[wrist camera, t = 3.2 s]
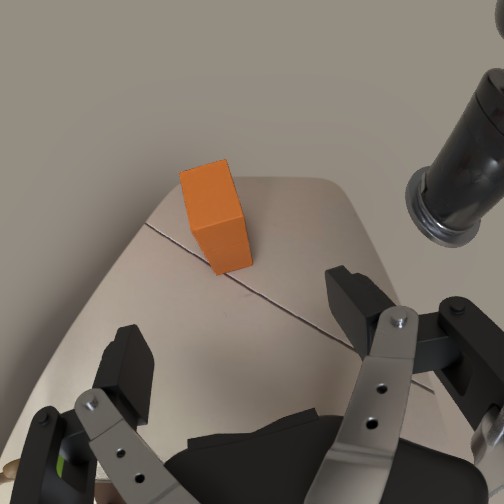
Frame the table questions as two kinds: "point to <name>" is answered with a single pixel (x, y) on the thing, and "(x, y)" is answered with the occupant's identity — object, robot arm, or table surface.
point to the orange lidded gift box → (216, 216)
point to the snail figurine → (12, 467)
